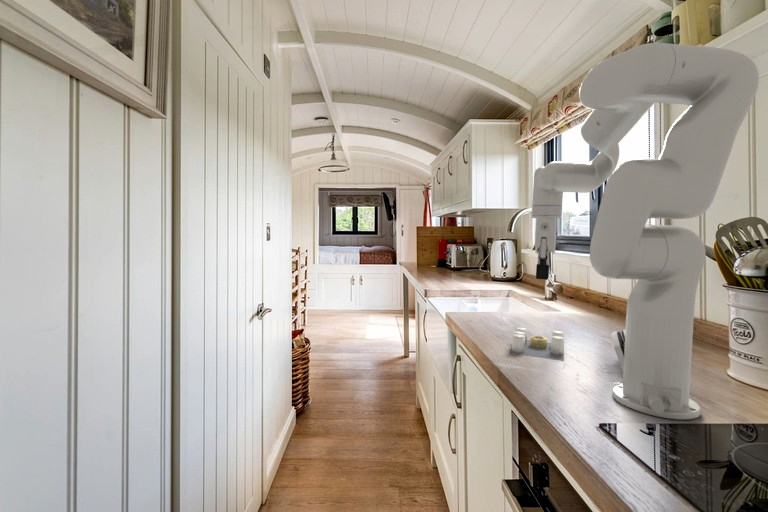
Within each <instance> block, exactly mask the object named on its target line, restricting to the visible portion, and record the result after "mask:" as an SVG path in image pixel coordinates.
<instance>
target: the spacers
mask: <svg viewBox="0 0 768 512" xmlns="http://www.w3.org/2000/svg"><path fill="white" fill-rule="evenodd" d="M511 338H512V339H511V349H512V351H513V352H516V353H524V349H525V344H527V340H528V329H527V327H526V328H525V327H515V331H513V332H512V337H511ZM550 343H551V351H550V353H552V354H555V355H563V353H564V354H565V333H564V332H563V331H559V330H552V331H551V336H550Z"/></svg>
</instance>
